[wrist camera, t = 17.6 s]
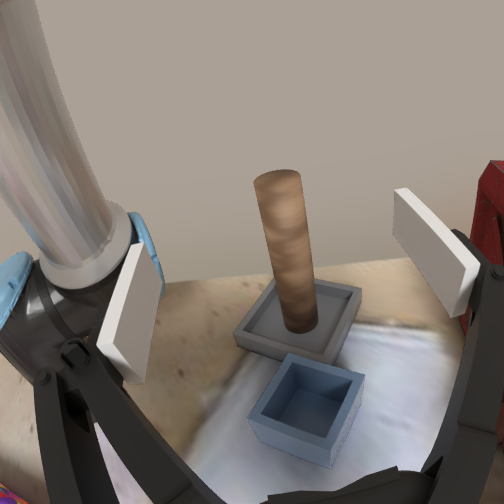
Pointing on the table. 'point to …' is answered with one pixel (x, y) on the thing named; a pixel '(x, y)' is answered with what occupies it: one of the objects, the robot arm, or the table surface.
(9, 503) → the pencil case
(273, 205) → the dowel
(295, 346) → the tray
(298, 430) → the open box
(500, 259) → the jerry can
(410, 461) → the table surface
